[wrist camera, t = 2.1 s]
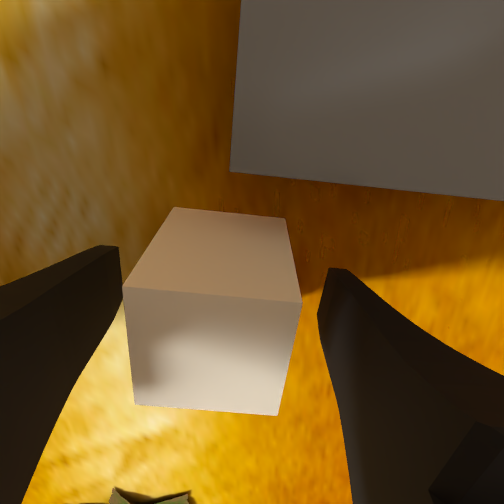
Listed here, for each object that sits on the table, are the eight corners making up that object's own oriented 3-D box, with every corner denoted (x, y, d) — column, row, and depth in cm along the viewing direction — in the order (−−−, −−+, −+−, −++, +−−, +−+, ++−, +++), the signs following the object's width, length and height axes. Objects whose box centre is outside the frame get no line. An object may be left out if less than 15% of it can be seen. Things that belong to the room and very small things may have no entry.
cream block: (175, 296, 13) (134, 404, 9) (174, 206, 11) (121, 286, 7) (270, 305, 13) (277, 415, 9) (285, 217, 12) (302, 302, 7)
